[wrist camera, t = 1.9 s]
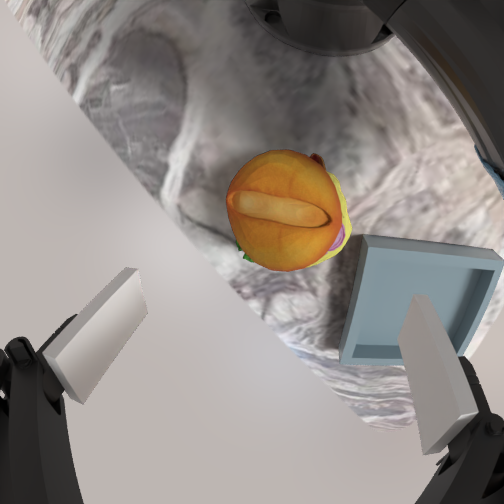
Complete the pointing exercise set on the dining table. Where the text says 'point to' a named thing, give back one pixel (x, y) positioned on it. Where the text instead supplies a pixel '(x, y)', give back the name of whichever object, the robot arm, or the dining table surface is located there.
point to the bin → (414, 282)
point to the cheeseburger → (287, 211)
